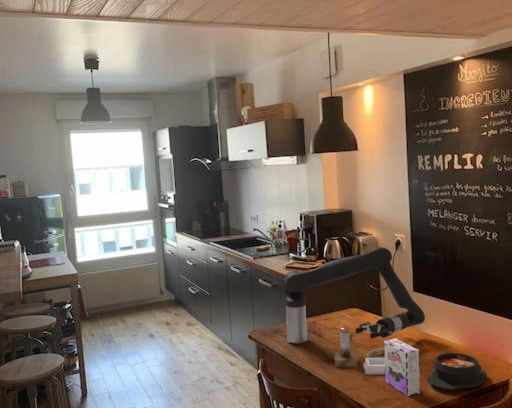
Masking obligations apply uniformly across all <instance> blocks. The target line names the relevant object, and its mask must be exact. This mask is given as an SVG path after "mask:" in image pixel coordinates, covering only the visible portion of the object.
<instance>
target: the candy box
mask: <svg viewBox="0 0 512 408" xmlns="http://www.w3.org/2000/svg"><path fill="white" fill-rule="evenodd" d="M383 351H384V353H383V354H384V355H383V356H384V358H385V374H384V376H385V377H384V378H385V379H384V380H385V381H384V382H385V383H386V384H388V385H389V386H391V387H393V388H394V389H395V390H397V391H399V392H400V393H401V394H403V395H404V396H406V397H410V396H415V395H420V392H421V391H420V390H421V389H420V388H421V387H420V385H421V384H420V350H419V348H415V347H414V346H411V345H409V344H407V342H403V341H402V340H399V339H398V338H391V339H387V340H383Z"/></svg>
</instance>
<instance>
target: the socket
mask: <svg viewBox="0 0 512 408" xmlns="http://www.w3.org/2000/svg"><path fill="white" fill-rule="evenodd" d="M364 361H365V362H363V363H362V365H363V369H364V373H365V375H385V357H365V359H364Z"/></svg>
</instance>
